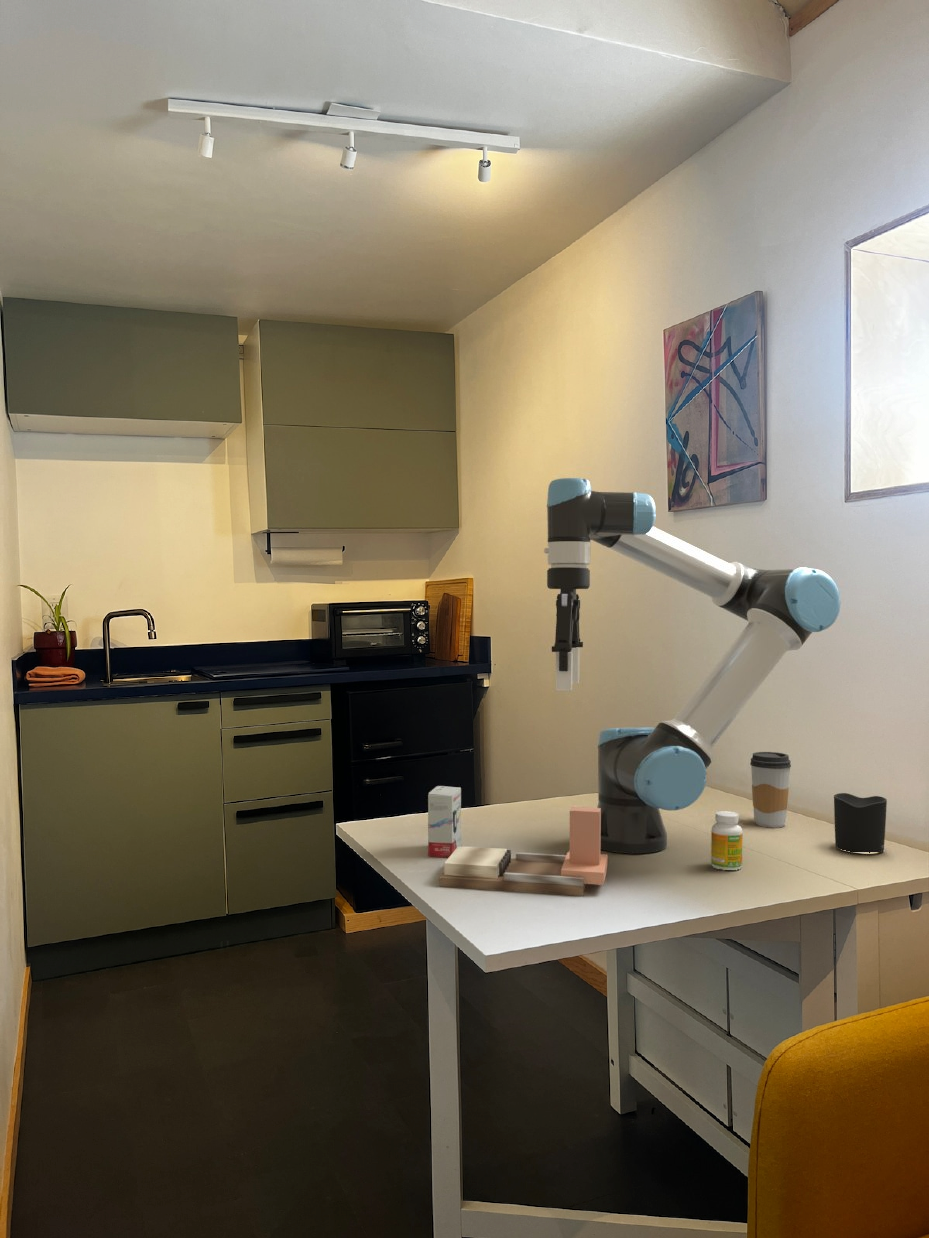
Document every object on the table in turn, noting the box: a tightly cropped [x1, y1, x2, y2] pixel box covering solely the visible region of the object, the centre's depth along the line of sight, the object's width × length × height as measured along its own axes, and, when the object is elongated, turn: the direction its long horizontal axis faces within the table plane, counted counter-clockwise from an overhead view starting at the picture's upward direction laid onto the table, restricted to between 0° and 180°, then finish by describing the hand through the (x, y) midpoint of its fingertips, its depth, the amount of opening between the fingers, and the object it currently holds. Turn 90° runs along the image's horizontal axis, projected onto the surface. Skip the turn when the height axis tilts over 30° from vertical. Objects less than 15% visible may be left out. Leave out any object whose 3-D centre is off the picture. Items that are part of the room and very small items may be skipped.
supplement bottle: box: [710, 810, 743, 871], centre depth 168 cm, size 5×5×10 cm
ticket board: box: [438, 845, 587, 897], centre depth 161 cm, size 24×14×4 cm, turn 78°
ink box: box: [427, 785, 462, 858], centre depth 178 cm, size 9×5×12 cm, turn 168°
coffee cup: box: [749, 751, 792, 829], centre depth 199 cm, size 8×8×15 cm
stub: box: [561, 806, 609, 886], centre depth 158 cm, size 7×11×11 cm, turn 168°
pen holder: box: [833, 792, 888, 853], centre depth 180 cm, size 9×9×10 cm
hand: (567, 686), depth 165 cm, fingers open, 13 cm apart
